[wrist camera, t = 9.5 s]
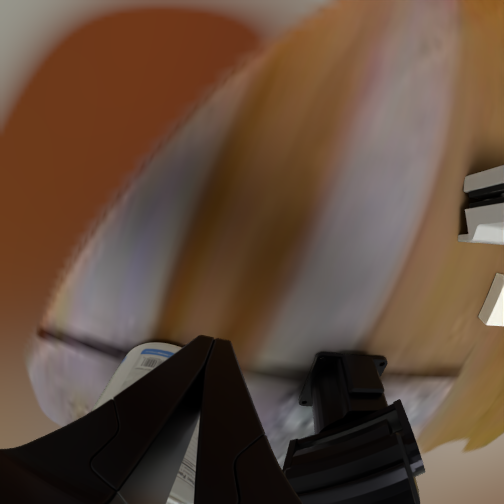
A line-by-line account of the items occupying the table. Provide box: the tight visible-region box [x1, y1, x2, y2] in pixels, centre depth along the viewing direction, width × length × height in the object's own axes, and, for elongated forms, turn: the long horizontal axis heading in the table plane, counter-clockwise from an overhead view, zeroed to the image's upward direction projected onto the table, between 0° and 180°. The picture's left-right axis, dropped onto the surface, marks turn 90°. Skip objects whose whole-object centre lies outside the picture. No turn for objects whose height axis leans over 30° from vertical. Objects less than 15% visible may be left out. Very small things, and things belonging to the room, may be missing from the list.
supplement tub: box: [92, 342, 200, 504], centre depth 17 cm, size 10×10×15 cm
